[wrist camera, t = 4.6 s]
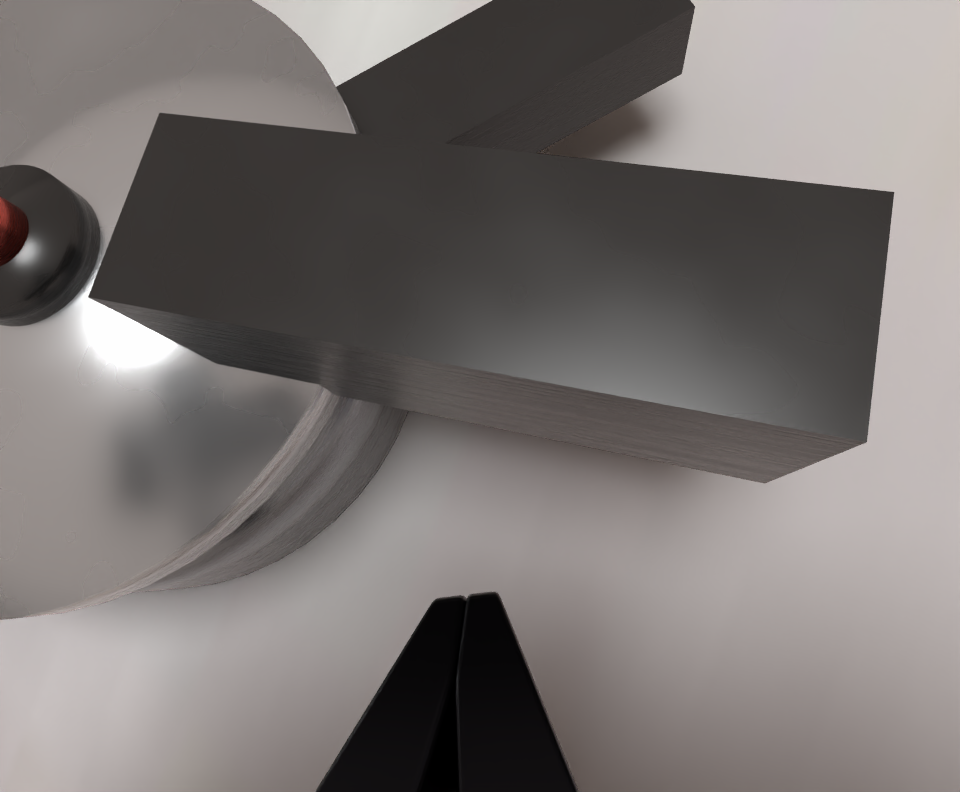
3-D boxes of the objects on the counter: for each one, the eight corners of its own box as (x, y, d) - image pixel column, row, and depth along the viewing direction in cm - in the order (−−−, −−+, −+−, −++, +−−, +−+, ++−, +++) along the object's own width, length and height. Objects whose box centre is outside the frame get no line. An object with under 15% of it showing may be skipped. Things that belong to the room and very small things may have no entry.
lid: (-314, 522, 14) (-668, 509, 10) (-55, -9, 17) (-250, -181, 13) (708, 859, 10) (796, 1081, 6) (823, 50, 12) (935, -190, 8)
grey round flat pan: (-58, 737, 17) (-276, 799, 13) (-139, 317, 21) (-325, 256, 17) (783, 293, 16) (854, 199, 12) (532, -55, 20) (517, -219, 16)
